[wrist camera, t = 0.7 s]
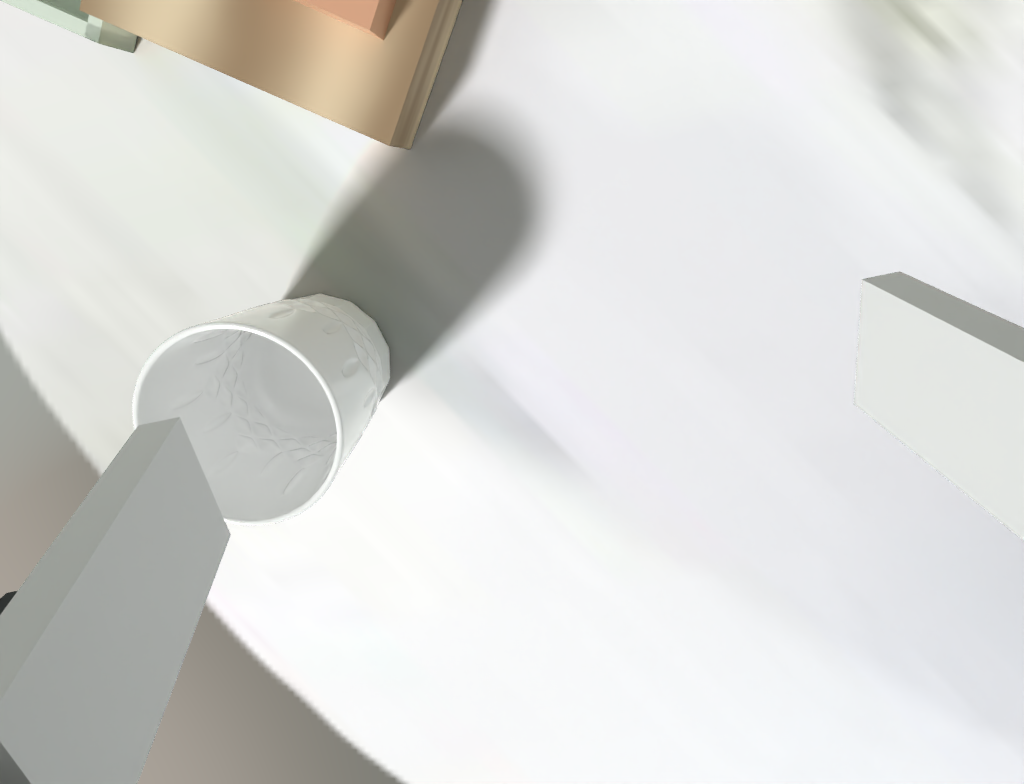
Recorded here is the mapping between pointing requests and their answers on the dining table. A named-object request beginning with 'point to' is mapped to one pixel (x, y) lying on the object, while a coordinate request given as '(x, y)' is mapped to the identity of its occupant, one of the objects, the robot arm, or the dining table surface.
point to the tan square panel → (306, 54)
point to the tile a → (357, 13)
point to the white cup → (269, 400)
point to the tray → (78, 21)
